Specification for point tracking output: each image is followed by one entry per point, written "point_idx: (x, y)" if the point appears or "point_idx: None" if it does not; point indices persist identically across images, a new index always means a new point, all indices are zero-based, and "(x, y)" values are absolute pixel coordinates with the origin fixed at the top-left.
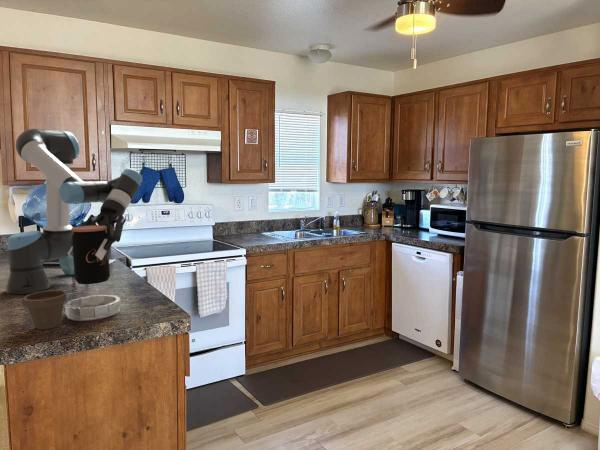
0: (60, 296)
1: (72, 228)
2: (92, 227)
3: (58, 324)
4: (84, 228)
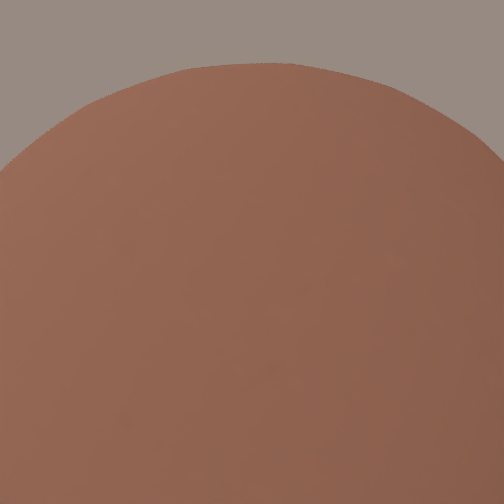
0: None
1: (404, 96)
2: (34, 435)
3: None
4: (105, 148)
